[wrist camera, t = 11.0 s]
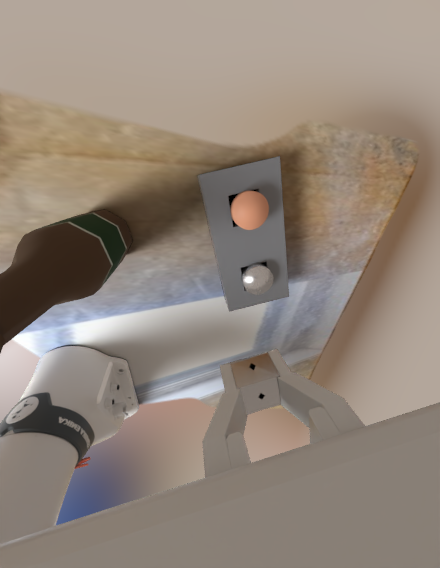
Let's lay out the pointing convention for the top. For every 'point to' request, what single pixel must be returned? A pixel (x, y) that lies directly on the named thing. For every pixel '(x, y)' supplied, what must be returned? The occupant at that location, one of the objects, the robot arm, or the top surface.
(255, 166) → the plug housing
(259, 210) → the mushroom push button
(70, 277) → the beer bottle
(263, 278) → the grey mushroom plug
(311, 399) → the robot arm
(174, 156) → the top surface
